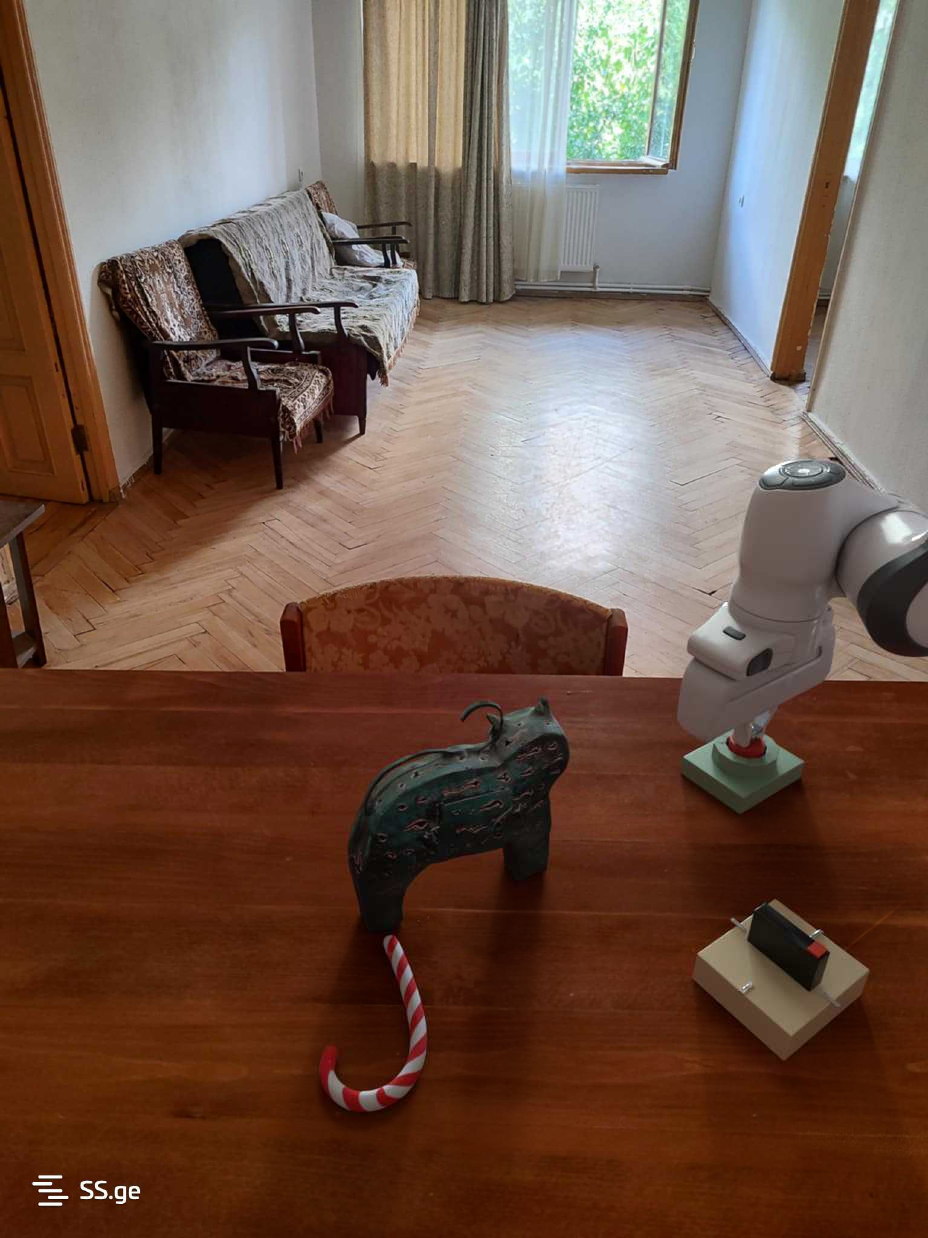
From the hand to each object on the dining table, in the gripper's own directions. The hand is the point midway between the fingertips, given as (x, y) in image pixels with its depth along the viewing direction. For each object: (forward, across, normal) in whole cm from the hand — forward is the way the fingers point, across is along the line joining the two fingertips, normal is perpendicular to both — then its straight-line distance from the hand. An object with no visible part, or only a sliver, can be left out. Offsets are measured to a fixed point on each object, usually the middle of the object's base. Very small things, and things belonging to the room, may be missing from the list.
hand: (747, 740), depth 92 cm
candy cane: (+5, +47, +3) cm, 47 cm away
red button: (+2, 0, 0) cm, 2 cm away
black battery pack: (+2, +19, +19) cm, 27 cm away
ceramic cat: (+5, +34, -4) cm, 35 cm away
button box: (+5, 0, 0) cm, 5 cm away
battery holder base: (+5, +19, +19) cm, 27 cm away
